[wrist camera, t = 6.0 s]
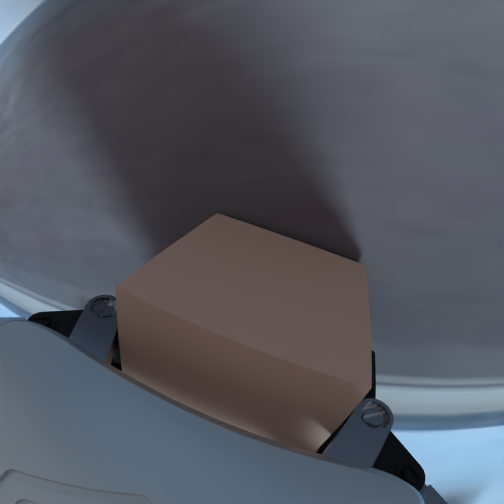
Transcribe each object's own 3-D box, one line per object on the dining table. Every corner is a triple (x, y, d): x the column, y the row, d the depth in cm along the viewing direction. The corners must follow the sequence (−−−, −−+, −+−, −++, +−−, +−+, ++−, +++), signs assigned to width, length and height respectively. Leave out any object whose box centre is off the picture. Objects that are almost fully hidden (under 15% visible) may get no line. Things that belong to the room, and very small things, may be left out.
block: (217, 213, 12) (115, 286, 6) (366, 265, 11) (371, 388, 5) (196, 326, 14) (128, 415, 9) (311, 371, 13) (282, 481, 8)
